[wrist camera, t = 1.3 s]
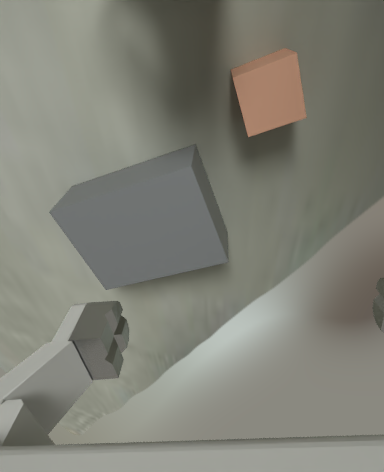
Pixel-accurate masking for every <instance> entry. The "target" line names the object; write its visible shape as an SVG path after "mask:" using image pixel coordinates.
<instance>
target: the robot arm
mask: <svg viewBox="0 0 384 472" xmlns="http://www.w3.org/2000/svg"><path fill="white" fill-rule="evenodd" d="M376 289H377V290H378V292H379V293H380V294H379V295H378V296H377V297H376V298H375V299H374V302H373V314H374V318H375V321H376V323H377V325H378V327H379V328H380V330H381V331H383V332H384V278H380V279H379V281H378V283H377V287H376ZM122 310H123V309H122V307H121V304H120V302H118V301H107V302H91V303H80V304H74V305H72V306H71V307H70V309H69V311H68V313H67V315H66V317H65V318H64V320H63V322H62V324H61V326H60V327H59V329H58V331H57V333H56V335H55V336H54V338H53V340H52V342H51V343H46V344H45V345H43V346H42V347H41V348H39V349H38V350H37V351H35V352H34V353H33V354H32V355H30V356H29V357H28V358H26V359H25V360H24V361H22V362H21V363H20V364H19V365H17V366H16V367H15V368H13V369H12V370H11V371H9V372H8V373H7V374H6V375H4V376H3V377H2V378H0V472H384V435H357V436H356V435H355V436H323V437H293V438H291V437H290V438H263V439H262V438H259V439H227V440H196V441H165V442H133V443H132V442H131V443H100V444H68V445H67V444H66V445H55V444H54V442H53V441H52V440H51V439H50V438H49V436H48V434H49V433H50V431H51V430H52V429H53V428H54V427H55V426H56V424H57V423H58V422H59V421H60V420H61V419H62V417H63V416H64V415H65V414H66V413H67V411H68V410H69V409H70V408H71V407H72V406H73V404H74V403H75V402H76V401H77V400H78V398H79V397H80V396H81V395H82V394H83V393H84V391H85V390H86V389H87V388H88V387H89V385H90V384H91V383H92V382H93V381H92V380H100V379H112V378H118V377H119V374H120V370H121V367H122V363H123V360H124V359H123V357H122V354H121V353H122V352H123V351H124V350H125V349H126V348H127V345H128V341H129V327H128V323H127V320H126V319H125V318H124V317H123V316H121V313H122Z"/></svg>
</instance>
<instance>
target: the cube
mask: <svg viewBox="0 0 384 472" xmlns="http://www.w3.org/2000/svg"><path fill="white" fill-rule="evenodd" d="M231 73H232V77H233V81H234V85H235V89H236V92H237V96H238V100H239V104H240V108H241V111H242V115H243V119H244V123H245V127H246V130H247V134H248V137H250V136H253V135H256V134H259V133H262V132H265V131H268V130H271V129H274V128H277V127H280V126H283V125H286V124H289V123H292V122H295V121H298V120H301V119H304V118H307V117H306V111H305V104H304V97H303V91H302V84H301V77H300V71H299V64H298V58H297V53H296V52H294V51H291V50H289V49H287V48H284V49H281V50H279V51H276V52H274V53H271V54H269V55H266V56H264V57H261V58H259V59H256V60H254V61H251V62H249V63H246V64H244V65H241V66H239V67H236V68H234V69H231Z"/></svg>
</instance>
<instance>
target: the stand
mask: <svg viewBox="0 0 384 472" xmlns="http://www.w3.org/2000/svg"><path fill="white" fill-rule="evenodd" d="M49 213H50V214H51V215H52V217H53V218H54V219H55V221H56V222H57V224H58V225H59V226H60V228H61V229H62V230H63V232H64V233H65V235H66V236H67V237H68V239H69V240H70V241H71V243H72V244H73V245H74V247H75V248H76V250H77V251H78V252H79V254H80V255H81V256H82V258H83V259H84V261H85V262H86V263H87V265H88V266H89V267H90V269H91V270H92V272H93V273H94V274H95V276H96V277H97V278H98V280H99V281H100V282H101V284H102V285H103V287H104V288H105V289H106V290H108V289H112V288H117V287H121V286H125V285H130V284H134V283H139V282H143V281H147V280H152V279H156V278H161V277H165V276H170V275H174V274H178V273H183V272H187V271H192V270H196V269H200V268H205V267H209V266H214V265H218V264H223V263H227V262H228V234H227V229H226V226H225V224H224V221H223V218H222V215H221V213H220V210H219V207H218V204H217V202H216V199H215V196H214V193H213V191H212V188H211V185H210V182H209V180H208V177H207V174H206V171H205V169H204V166H203V163H202V160H201V158H200V155H199V152H198V149H197V147H196V144H194V145H192V146H189V147H186V148H183V149H180V150H177V151H174V152H171V153H168V154H165V155H162V156H159V157H156V158H154V159H151V160H148V161H145V162H142V163H139V164H136V165H133V166H130V167H127V168H124V169H121V170H119V171H116V172H113V173H110V174H107V175H104V176H101V177H98V178H95V179H92V180H89V181H86V182H83V183H81V184H78V185H75V186H72V187H71V188H70V189H69V190H68V191H67V193H66V194H65V195H64V196H63V197H62V198H61V199H60V200H59V202H58V203H57V204H56V205H55V206H54V207H53V208H52V209H51V211H50V212H49Z"/></svg>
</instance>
